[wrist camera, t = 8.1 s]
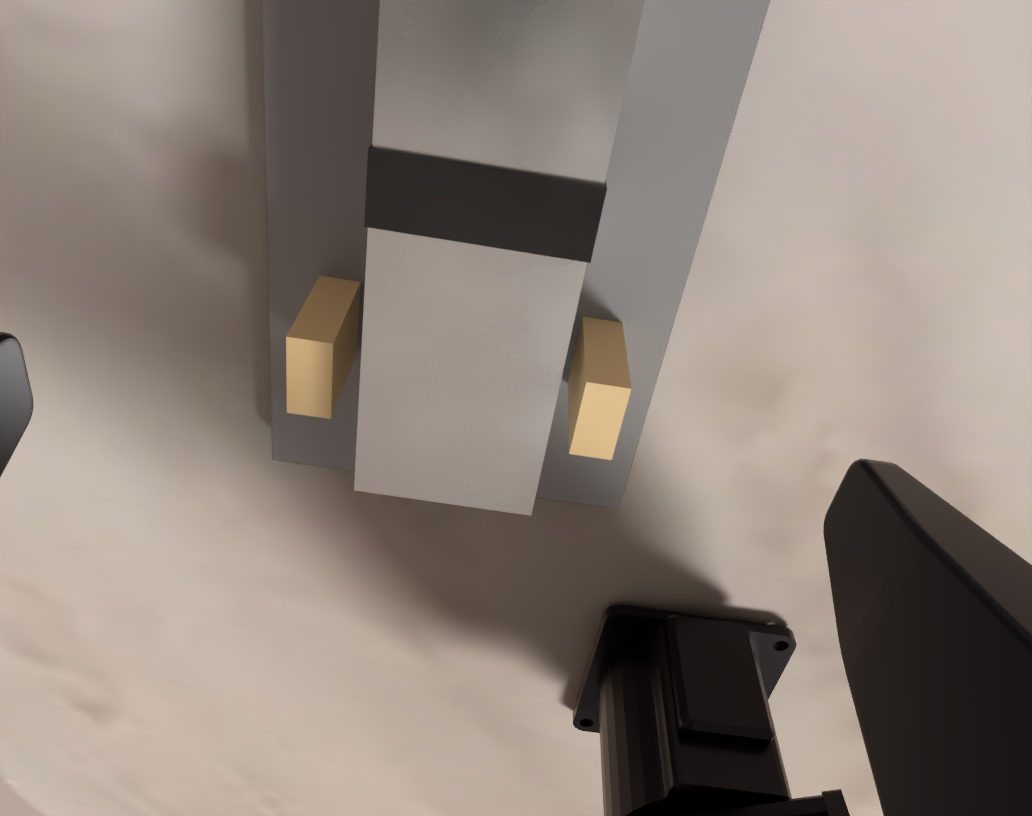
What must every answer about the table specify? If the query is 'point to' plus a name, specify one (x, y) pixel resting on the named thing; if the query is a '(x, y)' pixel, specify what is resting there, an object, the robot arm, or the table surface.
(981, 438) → the table surface
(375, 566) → the table surface
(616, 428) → the plate
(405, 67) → the air duct
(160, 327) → the table surface
